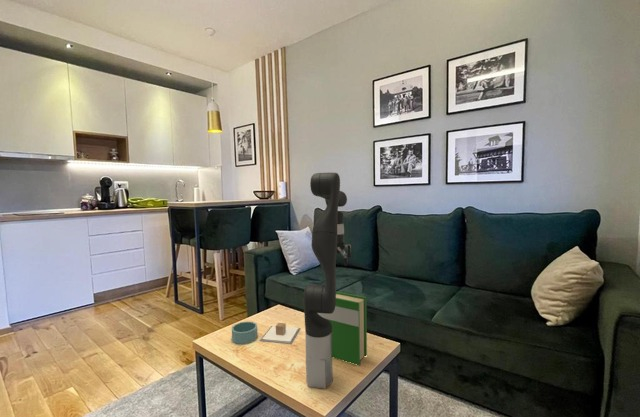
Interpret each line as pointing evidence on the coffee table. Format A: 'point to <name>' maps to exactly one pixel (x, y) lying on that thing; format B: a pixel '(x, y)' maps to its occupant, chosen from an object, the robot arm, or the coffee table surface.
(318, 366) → the robot arm
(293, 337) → the rubber mat
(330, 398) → the coffee table surface
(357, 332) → the hardback book
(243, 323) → the teal pet bowl
